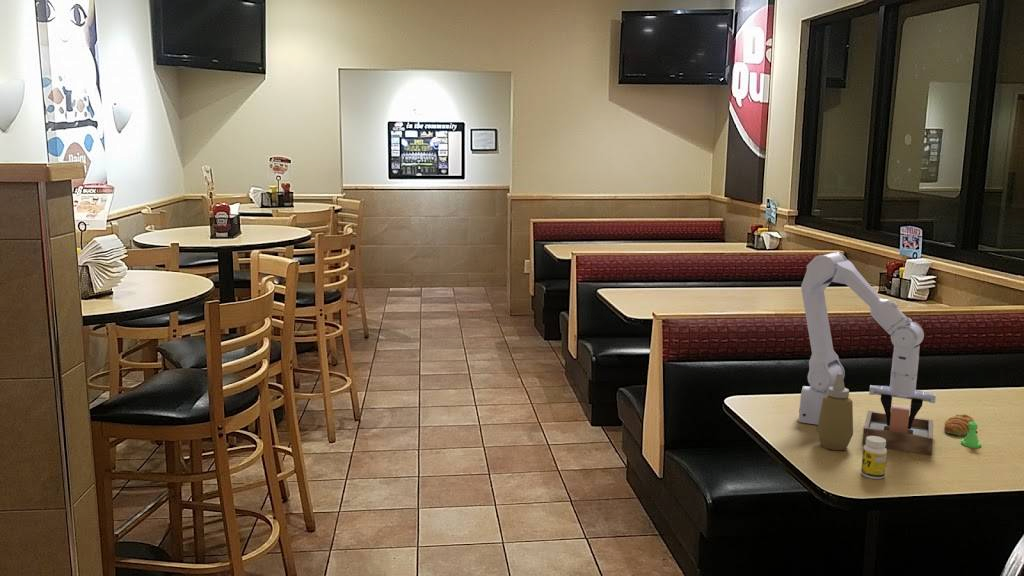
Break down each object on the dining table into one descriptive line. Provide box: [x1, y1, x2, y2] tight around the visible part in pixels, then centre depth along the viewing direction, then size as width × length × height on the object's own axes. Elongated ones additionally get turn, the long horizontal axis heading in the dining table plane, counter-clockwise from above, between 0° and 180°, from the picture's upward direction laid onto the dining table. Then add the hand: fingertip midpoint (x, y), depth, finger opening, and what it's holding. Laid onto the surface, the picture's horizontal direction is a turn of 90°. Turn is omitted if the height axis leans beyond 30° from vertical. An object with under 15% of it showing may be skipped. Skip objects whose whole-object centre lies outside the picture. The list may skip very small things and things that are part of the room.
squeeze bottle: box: [816, 373, 854, 451], centre depth 194 cm, size 8×8×18 cm
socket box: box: [861, 410, 934, 456], centre depth 201 cm, size 15×15×4 cm
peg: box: [889, 403, 911, 433], centre depth 200 cm, size 4×4×7 cm
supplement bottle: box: [860, 436, 888, 480], centre depth 178 cm, size 5×5×8 cm
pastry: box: [943, 413, 977, 437], centre depth 207 cm, size 9×7×4 cm
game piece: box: [960, 420, 982, 449], centre depth 198 cm, size 4×4×6 cm
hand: (898, 426), depth 200 cm, fingers closed on peg, 4 cm apart
